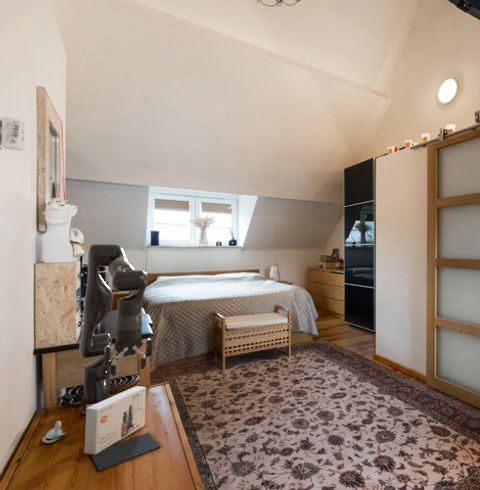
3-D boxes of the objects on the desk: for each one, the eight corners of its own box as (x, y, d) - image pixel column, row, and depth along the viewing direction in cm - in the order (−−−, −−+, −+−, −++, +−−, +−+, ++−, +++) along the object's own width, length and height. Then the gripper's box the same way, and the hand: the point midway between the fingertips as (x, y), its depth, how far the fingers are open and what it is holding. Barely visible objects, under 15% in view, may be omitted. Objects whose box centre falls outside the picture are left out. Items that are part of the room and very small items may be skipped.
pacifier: (46, 446, 126) (67, 438, 131) (45, 429, 126) (66, 422, 131) (39, 439, 130) (60, 432, 135) (39, 423, 130) (59, 416, 135)
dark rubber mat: (89, 454, 122) (89, 453, 122) (147, 433, 136) (147, 432, 136) (99, 471, 114) (99, 470, 114) (160, 447, 127) (160, 446, 127)
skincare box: (96, 455, 121) (96, 409, 121) (83, 453, 122) (83, 408, 122) (146, 425, 142) (146, 386, 142) (135, 424, 143) (135, 385, 143)
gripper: (148, 321, 131) (147, 364, 132) (101, 327, 121) (100, 374, 121) (155, 325, 127) (154, 369, 127) (107, 332, 116) (106, 380, 116)
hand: (128, 371), depth 124 cm, fingers open, 8 cm apart
